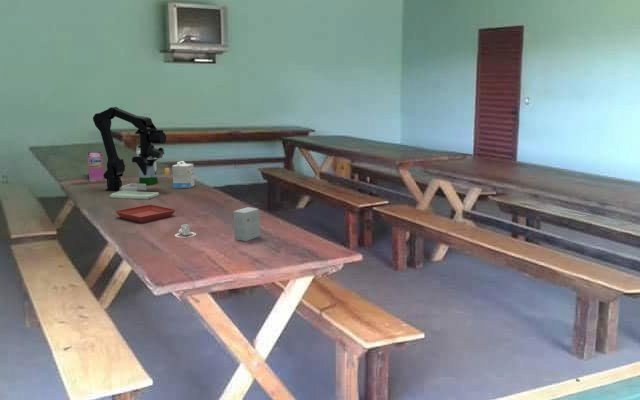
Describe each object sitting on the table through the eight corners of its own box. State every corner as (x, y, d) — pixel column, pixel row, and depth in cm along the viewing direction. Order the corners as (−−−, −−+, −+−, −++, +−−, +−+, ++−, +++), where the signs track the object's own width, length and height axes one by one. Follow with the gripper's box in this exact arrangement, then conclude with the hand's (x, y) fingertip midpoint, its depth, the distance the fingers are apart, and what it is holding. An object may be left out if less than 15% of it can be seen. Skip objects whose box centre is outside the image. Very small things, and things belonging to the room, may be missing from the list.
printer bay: (119, 192, 317) (119, 187, 317) (130, 189, 327) (130, 183, 326) (136, 193, 315) (135, 187, 315) (146, 189, 325) (146, 183, 324)
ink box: (188, 188, 327) (186, 162, 325) (173, 188, 329) (171, 162, 326) (194, 185, 336) (193, 160, 333) (179, 185, 337) (178, 160, 335)
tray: (109, 197, 305) (108, 194, 305) (120, 193, 315) (119, 190, 314) (149, 199, 300) (148, 196, 300) (159, 195, 310) (158, 192, 310)
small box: (248, 234, 235) (247, 206, 233) (260, 236, 232) (259, 208, 230) (233, 239, 229) (232, 210, 227) (245, 241, 226) (244, 212, 224)
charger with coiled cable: (179, 232, 241) (178, 222, 240) (199, 232, 240) (199, 222, 239) (171, 238, 232) (171, 227, 232) (192, 239, 232) (192, 228, 231)
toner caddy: (139, 177, 316) (138, 167, 315) (144, 175, 321) (143, 165, 320) (167, 178, 313) (166, 168, 312) (171, 176, 317) (171, 166, 316)
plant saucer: (150, 211, 278) (150, 203, 277) (177, 216, 267) (176, 209, 266) (114, 218, 264) (114, 210, 264) (140, 225, 253) (140, 216, 252)
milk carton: (160, 182, 345) (158, 146, 341) (150, 185, 337) (147, 148, 332) (146, 181, 348) (144, 145, 344) (136, 184, 340) (133, 147, 336)
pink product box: (89, 174, 373) (87, 151, 371) (103, 174, 376) (101, 151, 373) (89, 181, 351) (87, 157, 349) (104, 180, 354) (102, 156, 351)
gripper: (151, 145, 303) (153, 178, 307) (169, 141, 321) (171, 171, 324) (130, 145, 306) (132, 177, 309) (149, 141, 324) (151, 171, 327)
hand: (147, 174), depth 317 cm, fingers closed on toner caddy, 5 cm apart
